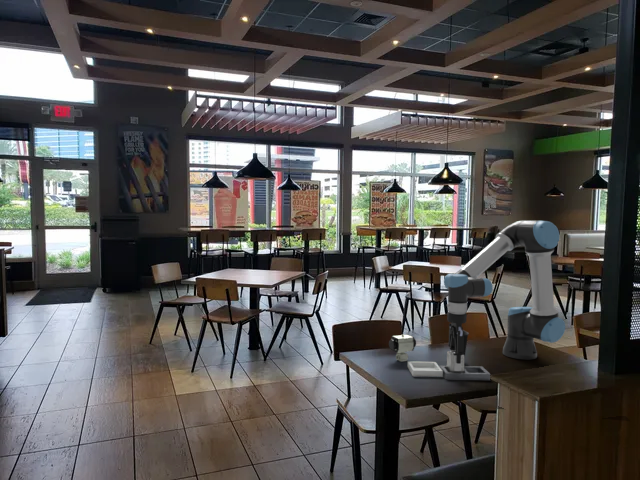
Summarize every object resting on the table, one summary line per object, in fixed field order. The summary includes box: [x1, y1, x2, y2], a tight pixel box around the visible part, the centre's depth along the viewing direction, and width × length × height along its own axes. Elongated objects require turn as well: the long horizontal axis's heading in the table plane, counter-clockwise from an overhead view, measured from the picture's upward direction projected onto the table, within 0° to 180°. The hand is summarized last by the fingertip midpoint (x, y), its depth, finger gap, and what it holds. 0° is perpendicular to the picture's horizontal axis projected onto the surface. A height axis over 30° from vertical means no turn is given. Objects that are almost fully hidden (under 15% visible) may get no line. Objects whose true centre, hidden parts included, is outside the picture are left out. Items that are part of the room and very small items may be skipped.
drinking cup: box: [463, 329, 470, 361], centre depth 218 cm, size 8×8×20 cm
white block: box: [446, 350, 465, 373], centre depth 200 cm, size 6×6×10 cm
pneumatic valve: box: [388, 333, 417, 363], centre depth 219 cm, size 6×12×12 cm, turn 113°
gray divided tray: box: [439, 365, 492, 381], centre depth 200 cm, size 18×10×2 cm, turn 91°
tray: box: [407, 360, 444, 378], centre depth 204 cm, size 12×12×2 cm
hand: (455, 368), depth 200 cm, fingers closed on white block, 5 cm apart
